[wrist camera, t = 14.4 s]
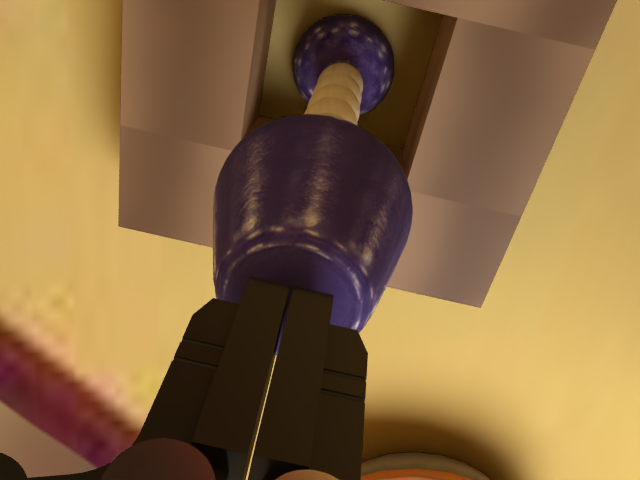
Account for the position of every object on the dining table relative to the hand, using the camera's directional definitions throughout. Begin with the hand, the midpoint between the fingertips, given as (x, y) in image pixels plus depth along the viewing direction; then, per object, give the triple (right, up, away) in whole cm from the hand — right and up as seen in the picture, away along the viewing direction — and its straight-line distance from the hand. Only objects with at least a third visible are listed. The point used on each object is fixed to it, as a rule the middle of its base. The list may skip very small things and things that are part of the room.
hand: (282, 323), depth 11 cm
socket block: (+2, +9, +14) cm, 17 cm away
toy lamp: (+2, +9, +14) cm, 17 cm away
